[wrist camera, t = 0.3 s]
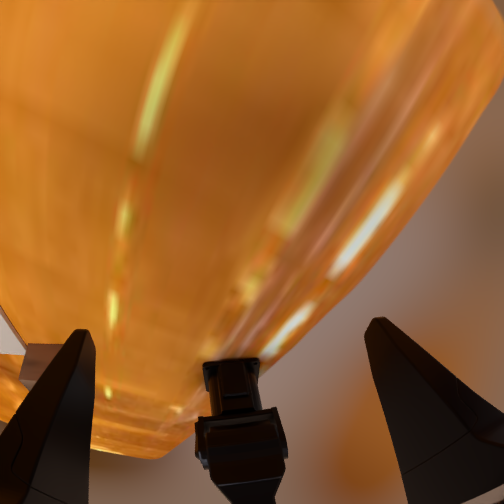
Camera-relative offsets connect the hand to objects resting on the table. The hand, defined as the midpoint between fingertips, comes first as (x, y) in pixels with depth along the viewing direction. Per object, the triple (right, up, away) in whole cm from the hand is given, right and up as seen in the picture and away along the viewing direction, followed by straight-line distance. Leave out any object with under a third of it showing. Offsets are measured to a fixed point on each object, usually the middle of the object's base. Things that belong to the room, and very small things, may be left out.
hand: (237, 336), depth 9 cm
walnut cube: (-23, -10, +22) cm, 33 cm away
